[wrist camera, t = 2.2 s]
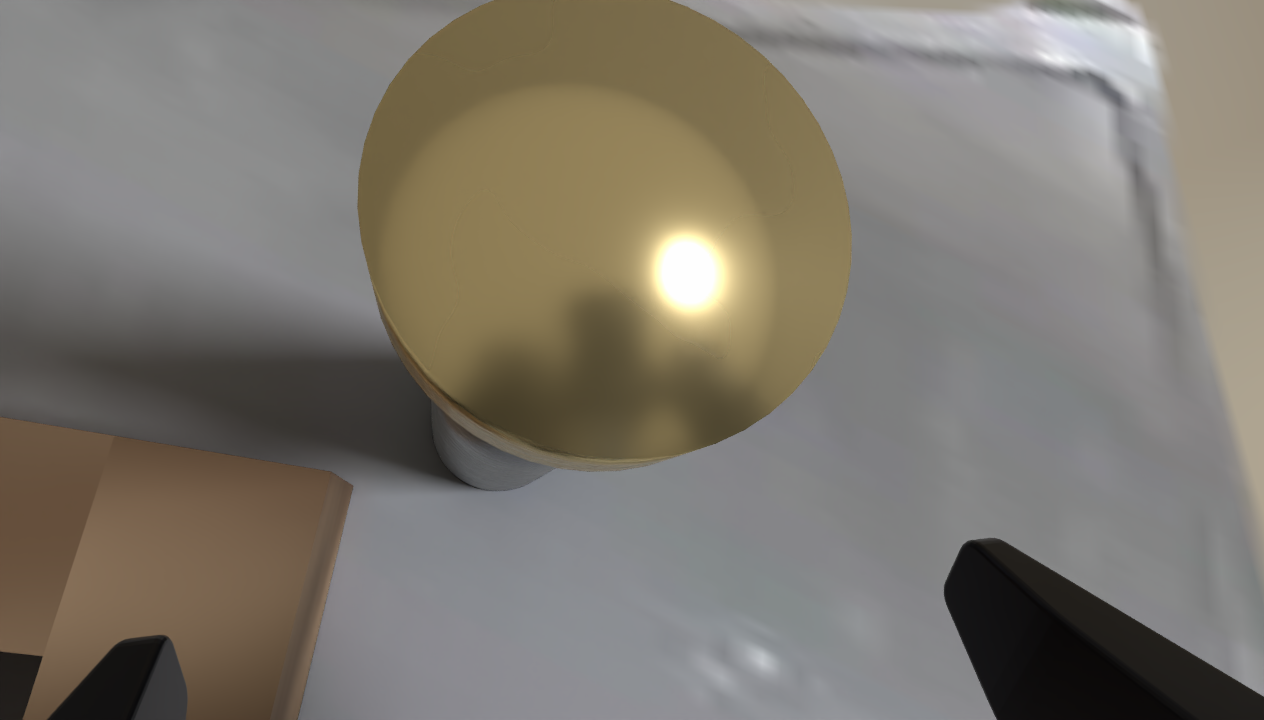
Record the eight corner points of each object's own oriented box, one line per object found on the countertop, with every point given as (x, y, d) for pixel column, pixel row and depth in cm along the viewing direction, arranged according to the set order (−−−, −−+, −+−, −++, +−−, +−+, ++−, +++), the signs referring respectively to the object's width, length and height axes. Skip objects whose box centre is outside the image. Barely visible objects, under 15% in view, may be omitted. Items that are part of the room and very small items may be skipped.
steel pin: (568, 525, 19) (831, 500, 6) (392, 496, 18) (295, 403, 6) (596, 359, 20) (867, 60, 7) (431, 325, 19) (422, -76, 7)
